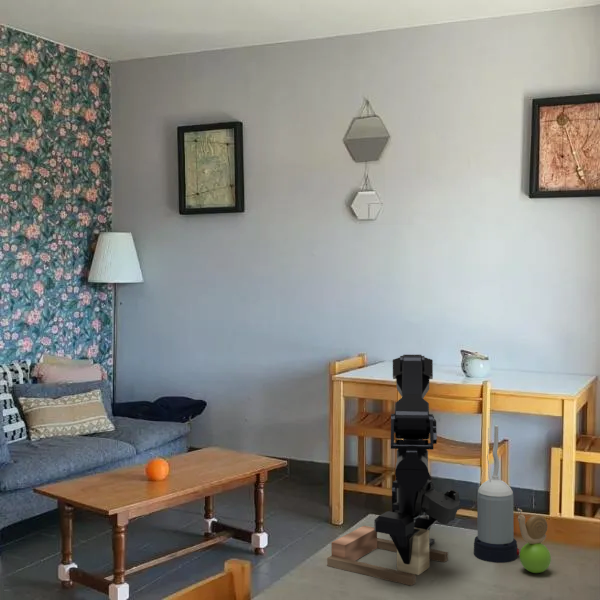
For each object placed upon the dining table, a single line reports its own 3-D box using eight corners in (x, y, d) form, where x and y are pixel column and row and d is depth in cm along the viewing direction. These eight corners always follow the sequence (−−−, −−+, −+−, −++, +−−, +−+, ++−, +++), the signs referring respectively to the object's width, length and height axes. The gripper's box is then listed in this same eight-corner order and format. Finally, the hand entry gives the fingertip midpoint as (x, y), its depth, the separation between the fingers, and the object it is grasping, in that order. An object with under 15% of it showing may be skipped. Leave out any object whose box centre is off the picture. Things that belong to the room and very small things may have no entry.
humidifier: (526, 558, 153) (526, 427, 152) (492, 565, 150) (492, 431, 149) (498, 545, 161) (498, 420, 160) (465, 551, 157) (464, 424, 156)
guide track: (367, 543, 163) (367, 523, 163) (447, 559, 153) (447, 539, 153) (327, 565, 150) (327, 544, 150) (411, 585, 140) (411, 563, 140)
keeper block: (408, 562, 152) (407, 526, 151) (429, 567, 149) (429, 530, 149) (397, 570, 148) (396, 532, 148) (418, 574, 146) (418, 536, 145)
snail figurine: (509, 570, 147) (508, 505, 147) (537, 564, 150) (536, 500, 149) (528, 580, 142) (528, 513, 142) (557, 574, 145) (557, 508, 144)
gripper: (430, 494, 136) (430, 585, 136) (474, 471, 151) (474, 553, 152) (372, 484, 142) (373, 572, 143) (420, 463, 157) (420, 542, 158)
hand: (413, 559), depth 149 cm, fingers open, 5 cm apart
